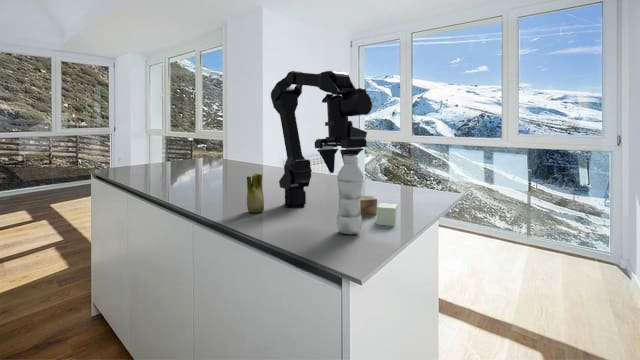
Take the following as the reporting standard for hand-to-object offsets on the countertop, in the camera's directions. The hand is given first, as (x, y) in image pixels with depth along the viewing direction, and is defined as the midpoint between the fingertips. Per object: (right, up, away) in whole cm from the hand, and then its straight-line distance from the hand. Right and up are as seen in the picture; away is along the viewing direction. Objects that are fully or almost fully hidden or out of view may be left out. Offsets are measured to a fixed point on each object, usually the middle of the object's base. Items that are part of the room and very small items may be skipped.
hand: (340, 173), depth 103 cm
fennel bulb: (-26, -12, +10) cm, 30 cm away
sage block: (+13, -14, 0) cm, 19 cm away
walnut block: (+8, -12, +9) cm, 17 cm away
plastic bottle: (+2, -16, -10) cm, 19 cm away
